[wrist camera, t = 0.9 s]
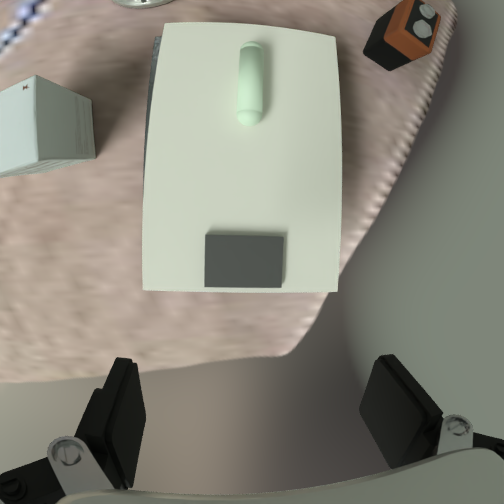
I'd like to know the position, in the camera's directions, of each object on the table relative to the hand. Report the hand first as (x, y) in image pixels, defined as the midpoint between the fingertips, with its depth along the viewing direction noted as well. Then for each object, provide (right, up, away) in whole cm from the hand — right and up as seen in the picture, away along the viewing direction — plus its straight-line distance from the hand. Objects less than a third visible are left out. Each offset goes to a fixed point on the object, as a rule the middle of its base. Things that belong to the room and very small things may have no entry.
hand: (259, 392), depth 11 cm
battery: (+16, +31, +19) cm, 40 cm away
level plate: (-1, +14, +15) cm, 21 cm away
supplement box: (-21, +18, +18) cm, 34 cm away
